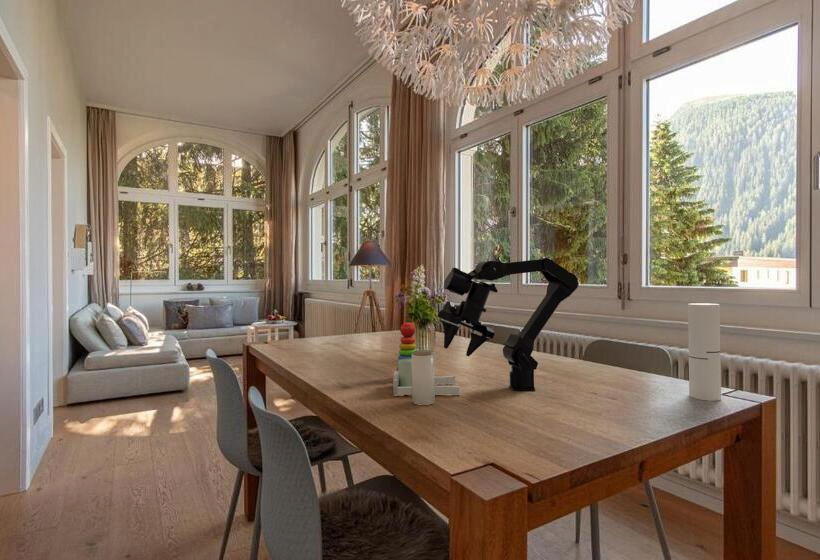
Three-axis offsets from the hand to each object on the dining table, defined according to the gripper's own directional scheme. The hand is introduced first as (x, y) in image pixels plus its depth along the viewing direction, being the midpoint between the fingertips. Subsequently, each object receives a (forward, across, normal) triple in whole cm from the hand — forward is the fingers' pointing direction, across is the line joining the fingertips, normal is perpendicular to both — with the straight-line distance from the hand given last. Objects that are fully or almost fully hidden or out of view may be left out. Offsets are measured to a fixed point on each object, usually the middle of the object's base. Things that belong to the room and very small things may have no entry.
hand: (456, 352), depth 129 cm
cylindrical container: (-13, -48, +45) cm, 67 cm away
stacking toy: (+15, -5, -22) cm, 27 cm away
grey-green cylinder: (+16, +4, -9) cm, 19 cm away
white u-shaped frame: (+14, 0, -7) cm, 15 cm away
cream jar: (+16, +8, +4) cm, 18 cm away
